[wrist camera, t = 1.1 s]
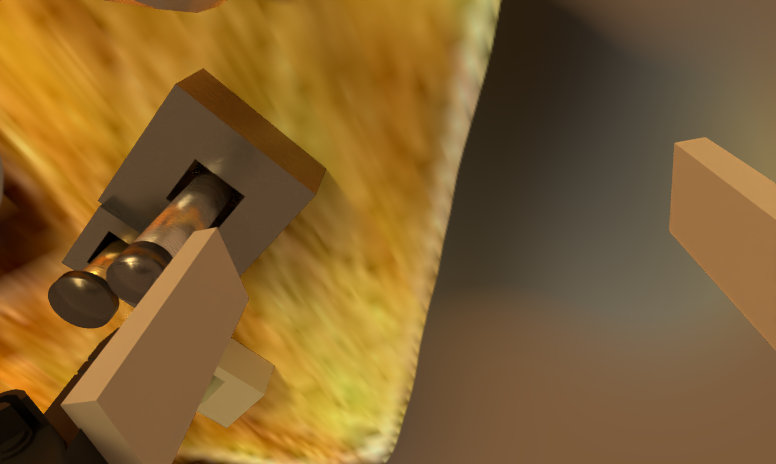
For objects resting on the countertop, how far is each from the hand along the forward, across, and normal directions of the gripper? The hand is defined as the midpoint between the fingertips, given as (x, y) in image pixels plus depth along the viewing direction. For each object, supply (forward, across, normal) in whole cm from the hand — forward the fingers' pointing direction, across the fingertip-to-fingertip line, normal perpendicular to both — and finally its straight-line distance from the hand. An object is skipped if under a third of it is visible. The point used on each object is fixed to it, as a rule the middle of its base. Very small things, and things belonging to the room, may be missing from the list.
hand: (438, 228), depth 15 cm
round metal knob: (+22, -26, -9) cm, 36 cm away
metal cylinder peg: (+26, -18, -6) cm, 32 cm away
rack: (+25, -28, -25) cm, 45 cm away
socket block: (+26, -18, -6) cm, 32 cm away
